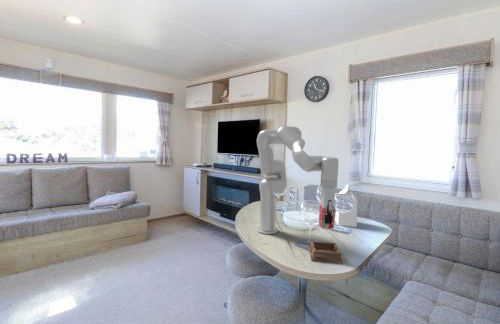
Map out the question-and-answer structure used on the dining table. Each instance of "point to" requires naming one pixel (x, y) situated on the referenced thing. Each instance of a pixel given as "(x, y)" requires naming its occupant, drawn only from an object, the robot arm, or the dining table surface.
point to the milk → (348, 217)
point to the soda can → (322, 218)
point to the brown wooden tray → (325, 252)
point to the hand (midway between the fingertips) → (326, 220)
